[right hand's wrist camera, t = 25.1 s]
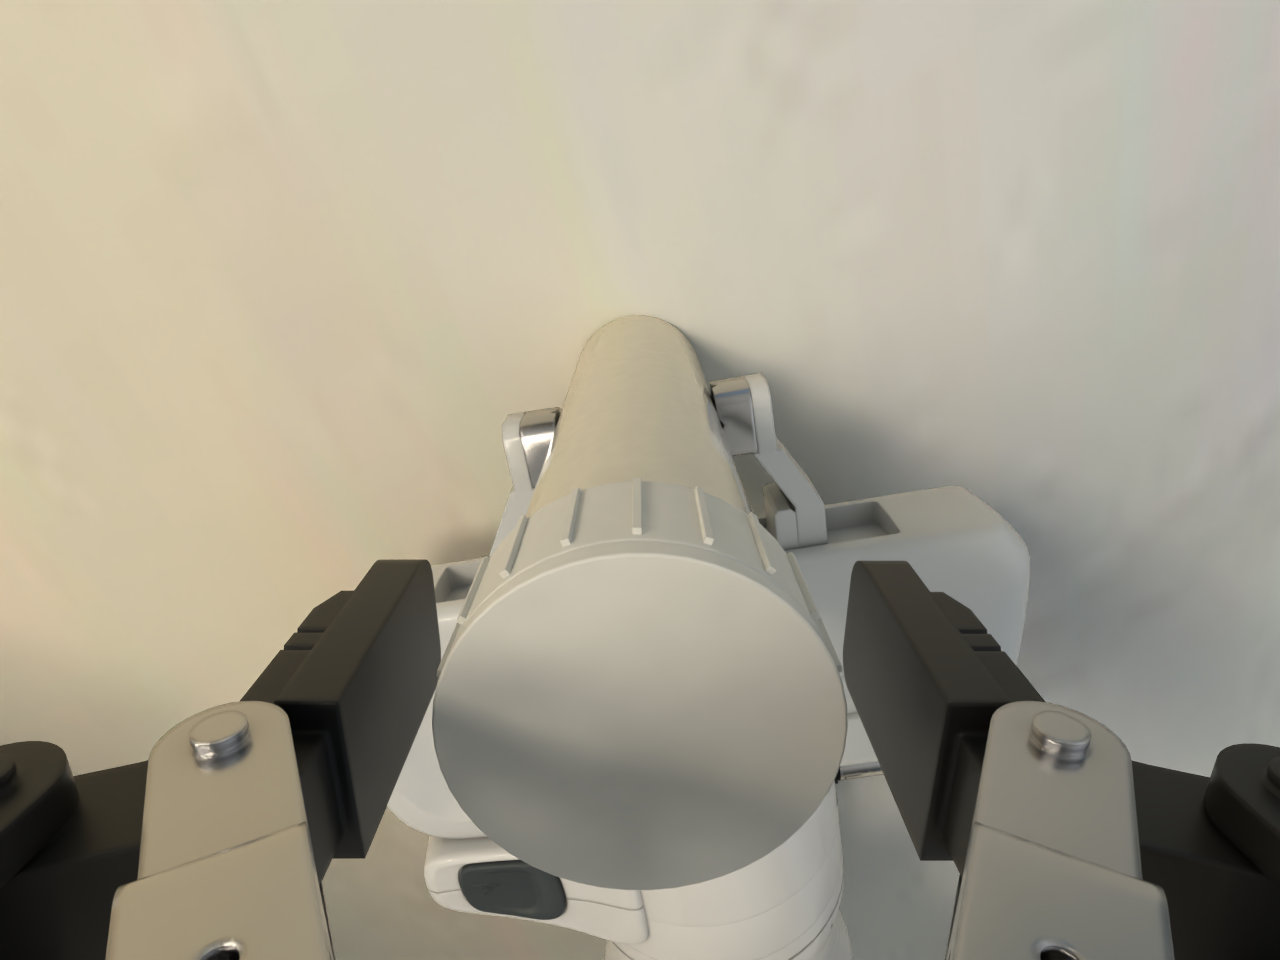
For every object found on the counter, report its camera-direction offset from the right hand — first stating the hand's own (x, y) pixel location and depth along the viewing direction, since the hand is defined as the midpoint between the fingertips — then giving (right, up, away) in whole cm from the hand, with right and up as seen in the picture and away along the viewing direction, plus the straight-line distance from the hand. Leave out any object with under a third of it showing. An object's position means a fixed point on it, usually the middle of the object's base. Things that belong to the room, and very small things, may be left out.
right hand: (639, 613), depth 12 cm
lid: (0, -1, -2) cm, 3 cm away
